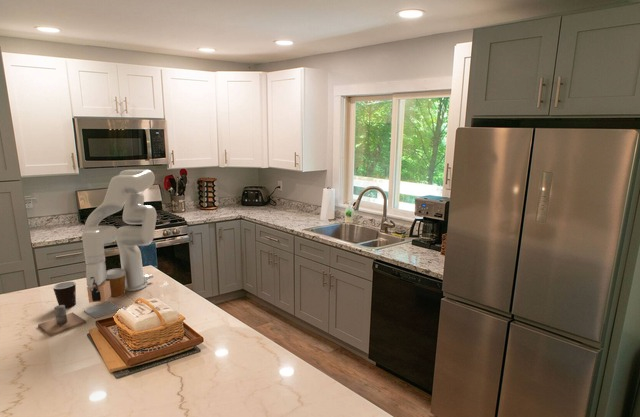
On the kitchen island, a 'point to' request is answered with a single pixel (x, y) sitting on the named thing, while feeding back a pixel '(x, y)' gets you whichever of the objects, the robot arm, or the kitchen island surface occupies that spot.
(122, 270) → the disposable coffee cup
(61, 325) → the post base
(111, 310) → the mat
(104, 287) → the coin bank
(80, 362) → the kitchen island surface
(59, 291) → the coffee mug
